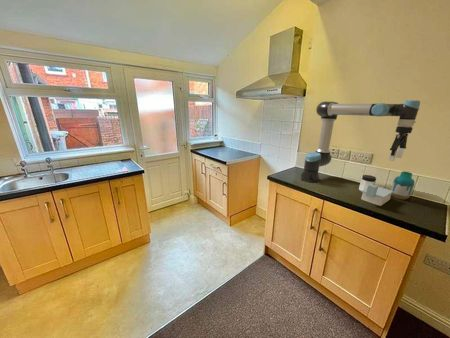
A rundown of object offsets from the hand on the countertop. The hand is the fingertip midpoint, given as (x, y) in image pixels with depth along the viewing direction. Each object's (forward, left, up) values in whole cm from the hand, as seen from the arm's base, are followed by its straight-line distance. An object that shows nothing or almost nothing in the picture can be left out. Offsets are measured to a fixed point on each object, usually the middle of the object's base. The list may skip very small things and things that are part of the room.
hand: (395, 159), depth 125 cm
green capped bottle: (+6, +7, -28) cm, 30 cm away
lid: (-1, -14, -23) cm, 26 cm away
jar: (-11, 0, -28) cm, 30 cm away
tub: (-1, -11, -28) cm, 30 cm away
